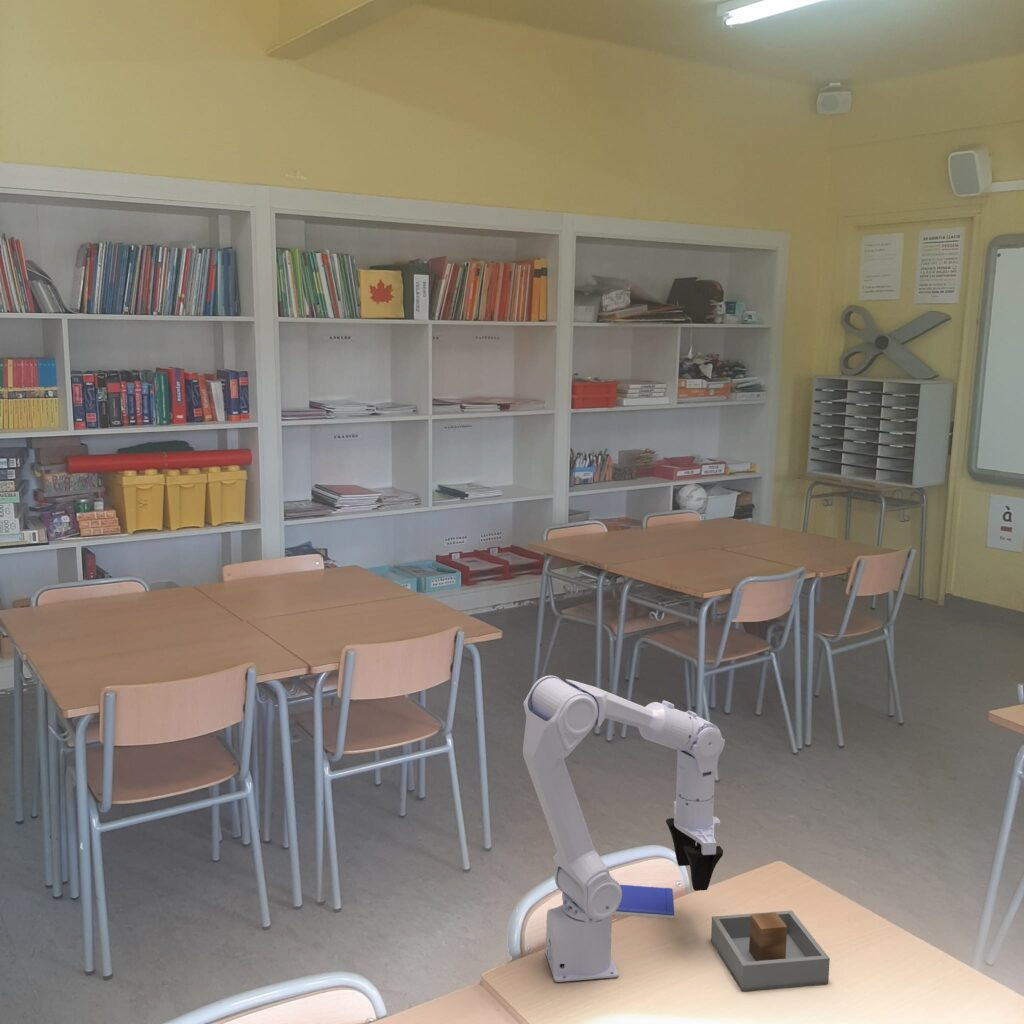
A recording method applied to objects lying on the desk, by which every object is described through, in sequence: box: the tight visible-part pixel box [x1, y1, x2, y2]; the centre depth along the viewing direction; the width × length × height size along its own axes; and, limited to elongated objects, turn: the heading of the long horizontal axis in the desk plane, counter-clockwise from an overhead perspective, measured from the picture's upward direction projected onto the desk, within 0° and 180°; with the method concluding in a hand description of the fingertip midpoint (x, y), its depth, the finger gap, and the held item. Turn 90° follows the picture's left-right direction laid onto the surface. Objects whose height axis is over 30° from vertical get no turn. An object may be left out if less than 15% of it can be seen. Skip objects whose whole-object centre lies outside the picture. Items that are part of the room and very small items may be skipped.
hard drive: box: [613, 884, 675, 919], centre depth 168 cm, size 2×8×12 cm
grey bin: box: [710, 910, 831, 993], centre depth 151 cm, size 13×13×4 cm
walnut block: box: [749, 911, 787, 961], centre depth 151 cm, size 4×4×6 cm
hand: (692, 876), depth 158 cm, fingers open, 7 cm apart
